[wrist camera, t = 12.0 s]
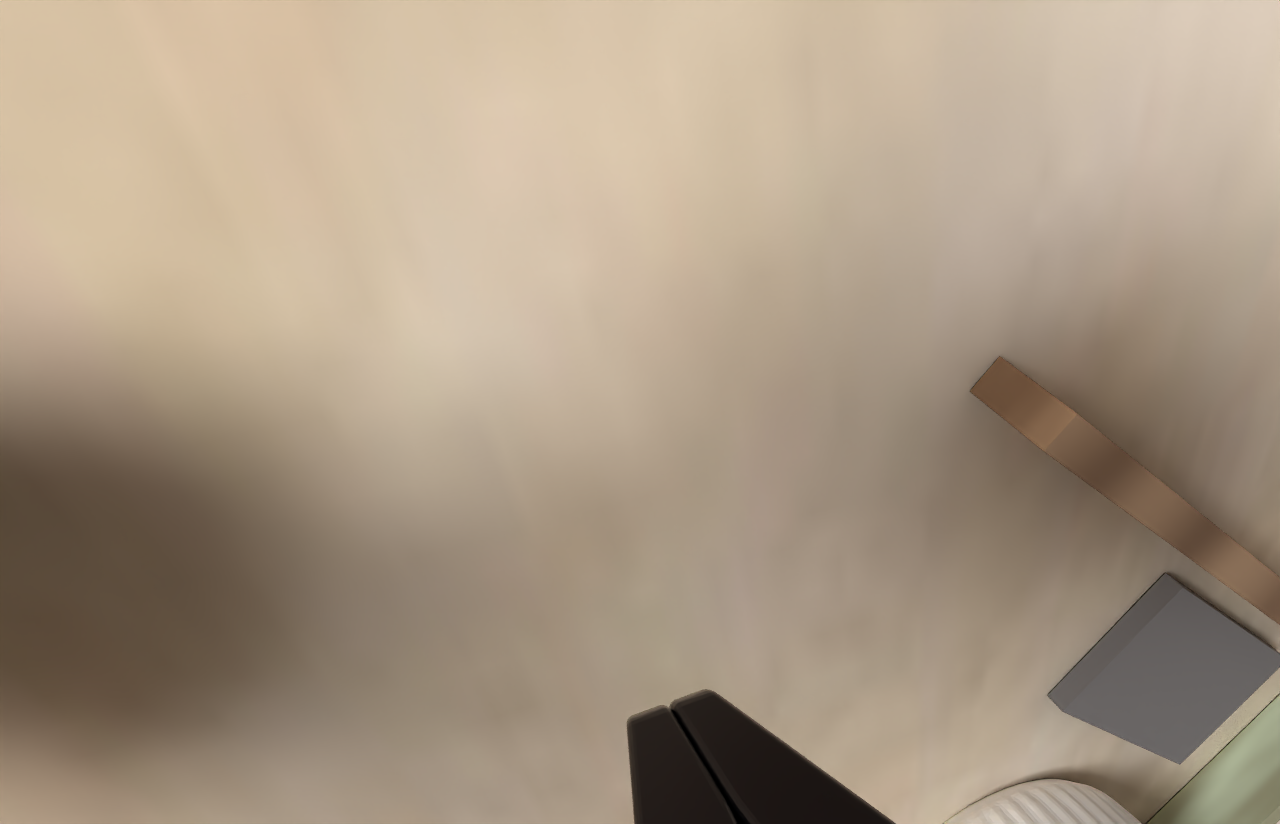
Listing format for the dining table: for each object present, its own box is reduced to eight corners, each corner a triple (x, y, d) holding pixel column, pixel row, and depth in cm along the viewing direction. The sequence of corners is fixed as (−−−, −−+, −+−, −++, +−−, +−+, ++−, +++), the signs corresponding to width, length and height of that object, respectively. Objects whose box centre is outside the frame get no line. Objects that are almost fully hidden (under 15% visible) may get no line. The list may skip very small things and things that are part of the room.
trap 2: (1047, 695, 38) (1062, 711, 37) (1165, 572, 36) (1182, 587, 36) (1165, 749, 44) (1180, 764, 43) (1270, 645, 42) (1287, 659, 42)
